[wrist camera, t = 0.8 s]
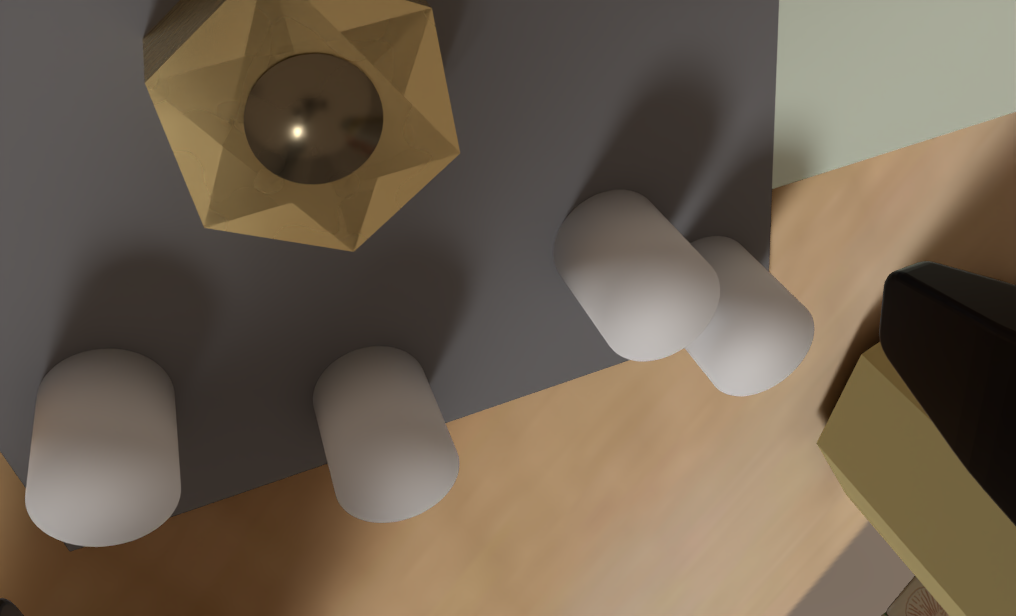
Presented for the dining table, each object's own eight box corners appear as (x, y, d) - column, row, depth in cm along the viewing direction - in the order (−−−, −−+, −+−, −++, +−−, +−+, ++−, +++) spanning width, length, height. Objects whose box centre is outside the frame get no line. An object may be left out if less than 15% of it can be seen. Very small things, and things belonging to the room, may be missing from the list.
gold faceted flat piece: (442, 167, 20) (473, 216, 18) (219, 232, 19) (229, 290, 17) (385, -106, 17) (415, -78, 15) (111, -41, 16) (109, -2, 14)
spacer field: (756, 301, 26) (831, 378, 23) (70, 533, 23) (63, 655, 20) (785, -738, 14) (948, -832, 11) (-668, -554, 11) (-944, -624, 8)
